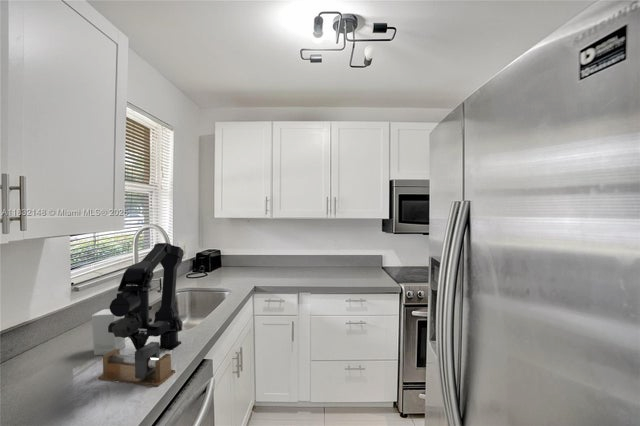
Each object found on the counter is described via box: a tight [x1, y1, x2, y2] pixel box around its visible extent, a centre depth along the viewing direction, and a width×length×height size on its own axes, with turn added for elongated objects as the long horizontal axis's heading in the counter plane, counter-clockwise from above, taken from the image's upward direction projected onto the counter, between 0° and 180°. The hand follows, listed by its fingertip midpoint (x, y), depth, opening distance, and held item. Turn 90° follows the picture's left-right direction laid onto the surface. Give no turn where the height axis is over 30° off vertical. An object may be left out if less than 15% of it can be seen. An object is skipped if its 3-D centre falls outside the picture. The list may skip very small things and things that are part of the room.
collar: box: [134, 341, 161, 379], centre depth 98 cm, size 3×7×8 cm, turn 169°
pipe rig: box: [97, 349, 176, 388], centre depth 99 cm, size 22×8×7 cm, turn 79°
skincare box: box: [91, 308, 126, 356], centre depth 116 cm, size 8×7×16 cm
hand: (139, 352), depth 99 cm, fingers closed
